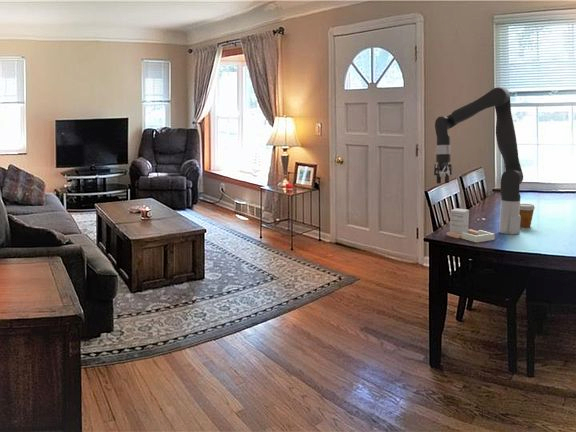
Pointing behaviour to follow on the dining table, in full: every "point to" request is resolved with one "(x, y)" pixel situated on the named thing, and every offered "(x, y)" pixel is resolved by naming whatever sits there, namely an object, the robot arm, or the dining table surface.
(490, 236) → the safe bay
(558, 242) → the dining table surface
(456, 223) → the supplement box
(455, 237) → the trap left
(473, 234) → the trap right
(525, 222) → the disposable coffee cup
